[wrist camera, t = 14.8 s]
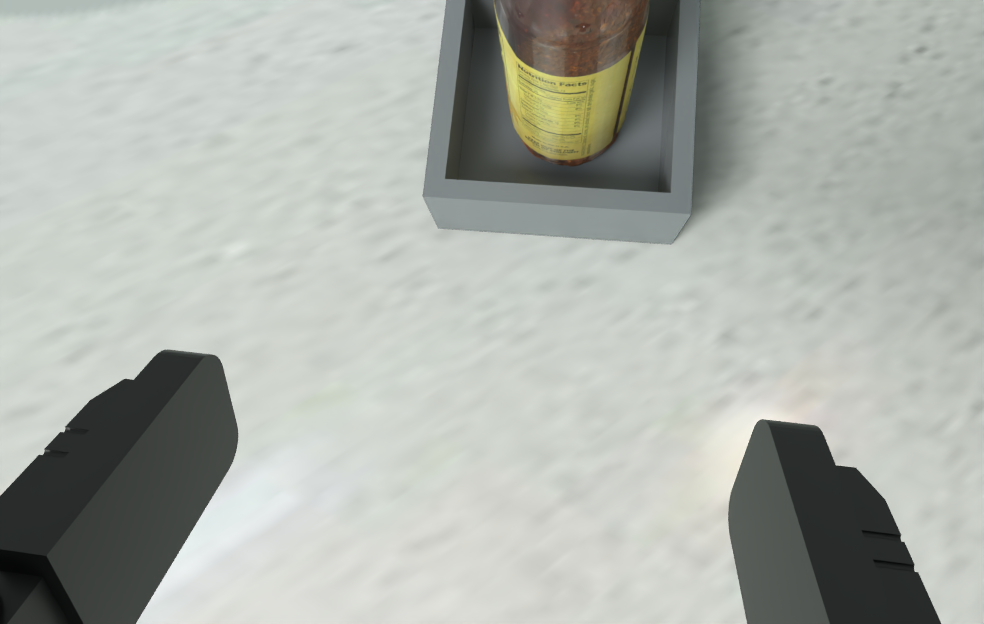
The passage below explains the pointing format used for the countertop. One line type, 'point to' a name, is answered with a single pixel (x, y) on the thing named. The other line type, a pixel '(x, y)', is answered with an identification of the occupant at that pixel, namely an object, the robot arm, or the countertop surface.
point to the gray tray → (563, 189)
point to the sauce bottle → (569, 72)
